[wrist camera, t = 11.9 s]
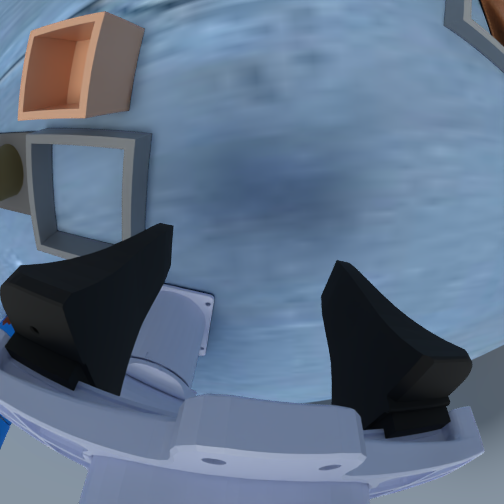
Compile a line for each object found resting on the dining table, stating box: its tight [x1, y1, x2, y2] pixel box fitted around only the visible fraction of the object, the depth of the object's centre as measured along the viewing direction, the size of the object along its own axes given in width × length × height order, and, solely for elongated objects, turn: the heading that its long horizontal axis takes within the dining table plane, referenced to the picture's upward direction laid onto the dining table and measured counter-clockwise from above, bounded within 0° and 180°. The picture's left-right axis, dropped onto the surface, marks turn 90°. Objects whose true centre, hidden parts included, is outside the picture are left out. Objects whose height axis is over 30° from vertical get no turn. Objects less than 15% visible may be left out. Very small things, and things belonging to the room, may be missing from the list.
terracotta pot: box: [18, 12, 145, 121], centre depth 13 cm, size 7×7×6 cm
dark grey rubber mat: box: [0, 131, 36, 215], centre depth 20 cm, size 9×9×1 cm
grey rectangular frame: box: [26, 128, 152, 259], centre depth 20 cm, size 12×12×3 cm
